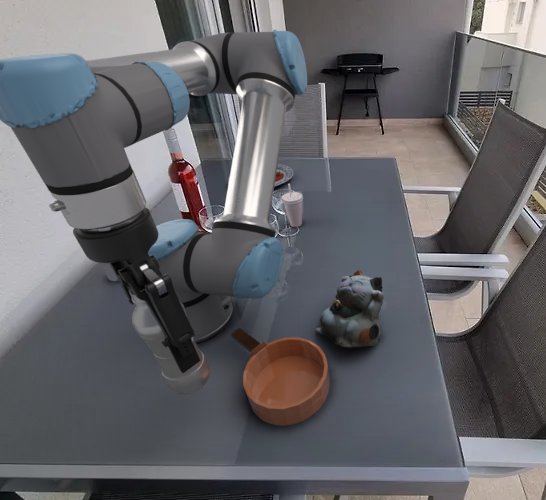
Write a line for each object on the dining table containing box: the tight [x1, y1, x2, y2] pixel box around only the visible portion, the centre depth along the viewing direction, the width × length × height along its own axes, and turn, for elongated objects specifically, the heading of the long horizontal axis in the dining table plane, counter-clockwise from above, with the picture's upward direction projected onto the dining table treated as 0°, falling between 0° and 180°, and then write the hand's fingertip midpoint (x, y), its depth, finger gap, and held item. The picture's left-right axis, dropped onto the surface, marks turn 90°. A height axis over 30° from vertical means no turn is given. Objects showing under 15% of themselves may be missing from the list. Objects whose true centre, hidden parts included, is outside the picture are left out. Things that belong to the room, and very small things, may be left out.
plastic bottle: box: [129, 287, 212, 396], centre depth 49 cm, size 6×7×20 cm
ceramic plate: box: [227, 163, 294, 187], centre depth 140 cm, size 26×26×3 cm
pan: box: [242, 336, 331, 427], centre depth 62 cm, size 14×14×5 cm
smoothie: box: [281, 183, 304, 228], centre depth 107 cm, size 6×6×14 cm
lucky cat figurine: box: [315, 269, 385, 348], centre depth 71 cm, size 15×12×14 cm
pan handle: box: [230, 327, 268, 358], centre depth 67 cm, size 8×3×3 cm, turn 50°
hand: (178, 353), depth 51 cm, fingers closed on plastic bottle, 6 cm apart
